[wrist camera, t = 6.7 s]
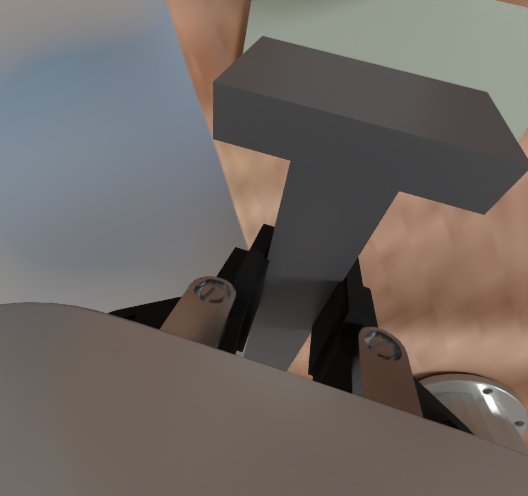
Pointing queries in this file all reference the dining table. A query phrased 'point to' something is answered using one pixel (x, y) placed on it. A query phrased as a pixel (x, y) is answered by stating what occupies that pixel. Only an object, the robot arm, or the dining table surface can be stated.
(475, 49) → the mat
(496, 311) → the dining table surface
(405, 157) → the grey t-shaped block
